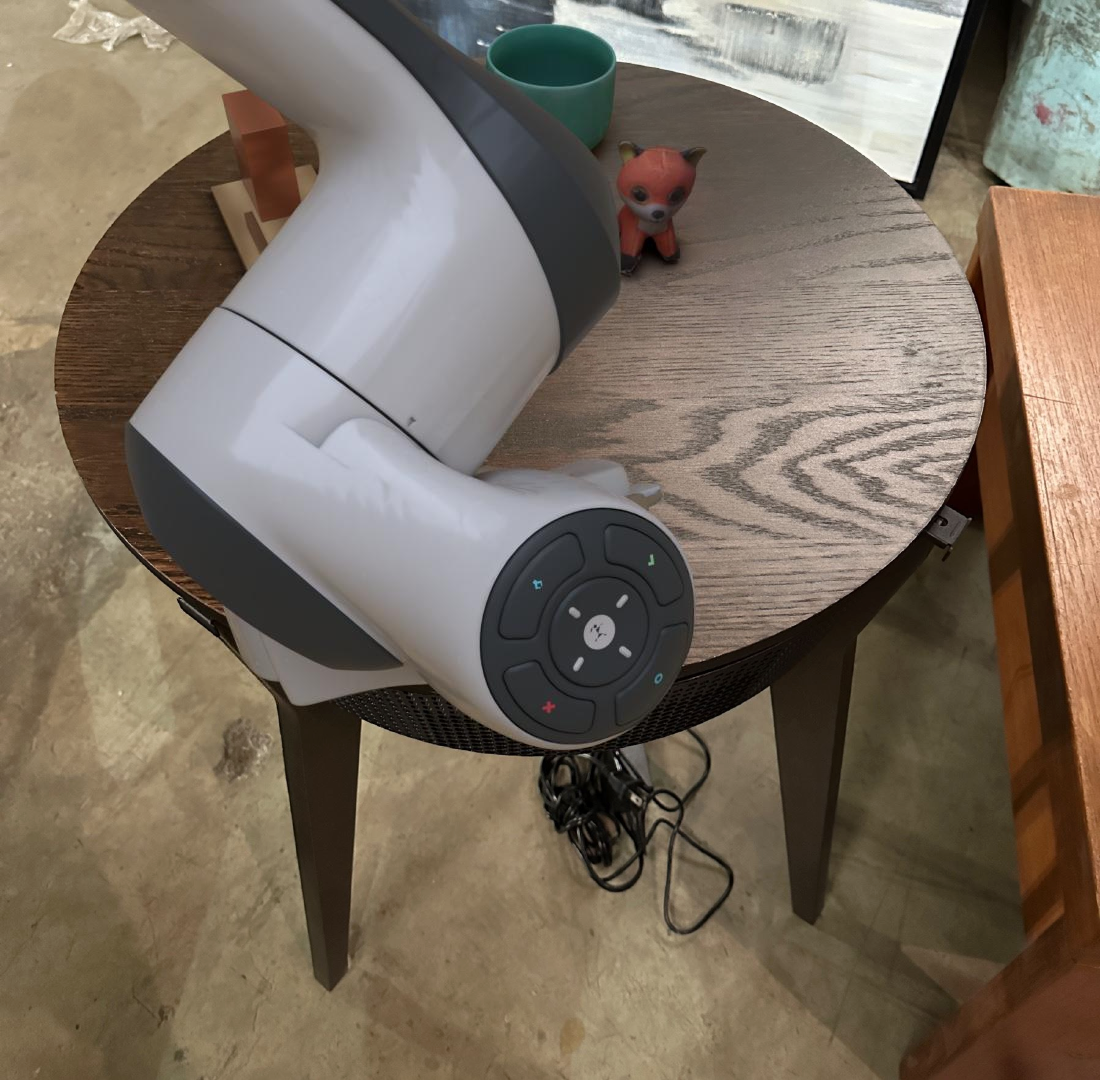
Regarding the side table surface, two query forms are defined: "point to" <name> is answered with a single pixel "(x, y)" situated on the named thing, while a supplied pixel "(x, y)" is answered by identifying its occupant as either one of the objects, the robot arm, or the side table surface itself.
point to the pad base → (259, 176)
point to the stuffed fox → (652, 198)
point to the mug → (560, 74)
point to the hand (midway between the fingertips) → (406, 540)
